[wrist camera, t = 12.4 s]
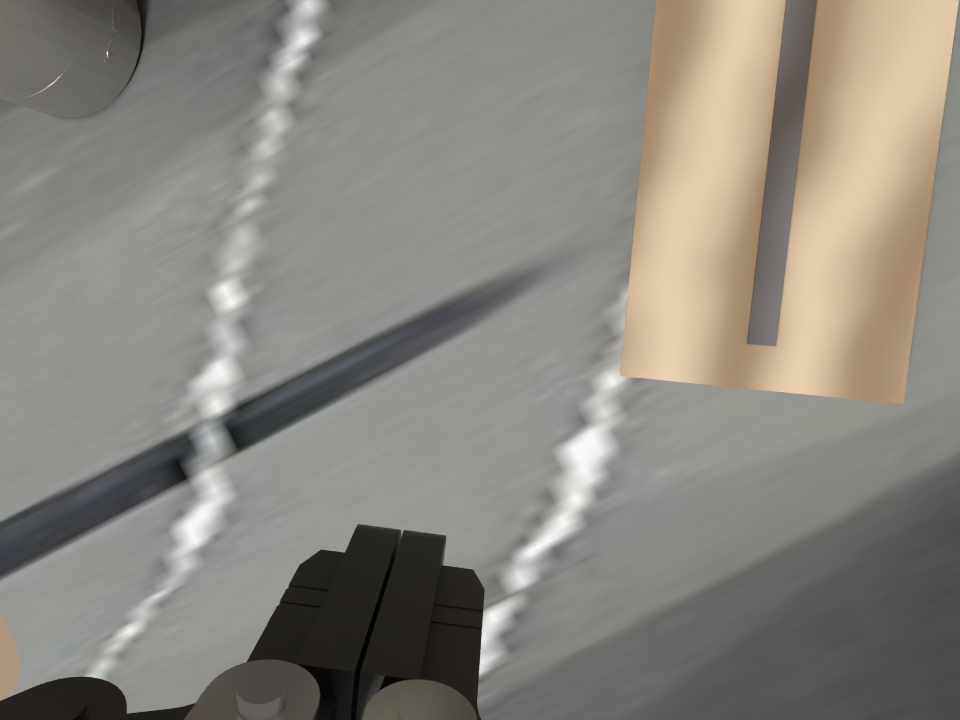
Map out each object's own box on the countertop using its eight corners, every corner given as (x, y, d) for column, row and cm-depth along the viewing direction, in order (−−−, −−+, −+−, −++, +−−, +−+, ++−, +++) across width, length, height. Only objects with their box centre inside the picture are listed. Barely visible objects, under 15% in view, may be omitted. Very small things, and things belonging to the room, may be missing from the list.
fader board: (621, 372, 34) (620, 376, 33) (676, -199, 32) (677, -226, 30) (903, 400, 32) (917, 406, 30) (989, -223, 29) (1010, -255, 27)
